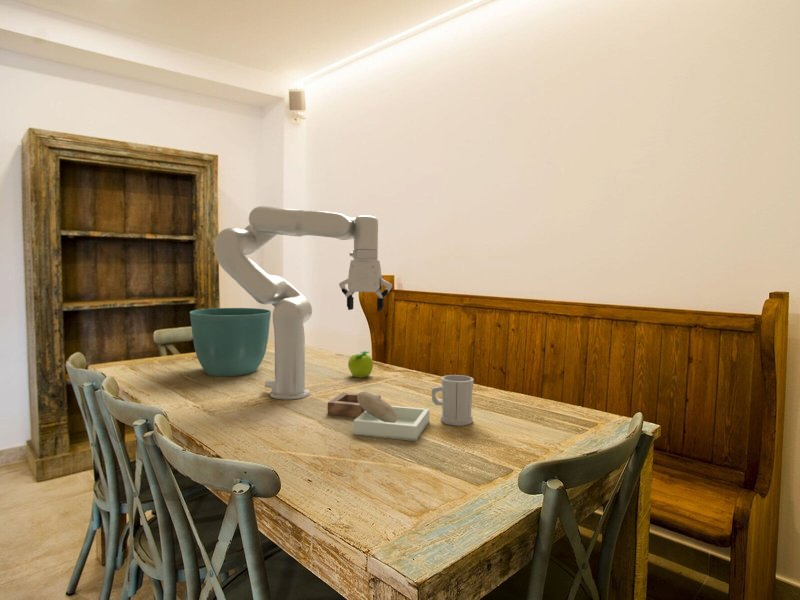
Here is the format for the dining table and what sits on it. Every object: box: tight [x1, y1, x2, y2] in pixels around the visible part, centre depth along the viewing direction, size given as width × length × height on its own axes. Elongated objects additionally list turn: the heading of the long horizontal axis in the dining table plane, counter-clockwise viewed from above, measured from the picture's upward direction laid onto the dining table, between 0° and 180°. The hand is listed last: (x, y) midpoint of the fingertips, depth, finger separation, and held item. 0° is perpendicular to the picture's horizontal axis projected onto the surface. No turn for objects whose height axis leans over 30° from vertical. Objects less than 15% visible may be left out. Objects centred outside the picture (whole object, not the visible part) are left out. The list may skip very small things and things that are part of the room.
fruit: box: [347, 350, 374, 379], centre depth 190 cm, size 9×9×10 cm
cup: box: [431, 374, 475, 427], centre depth 137 cm, size 10×9×12 cm
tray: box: [353, 405, 430, 442], centre depth 131 cm, size 16×16×4 cm
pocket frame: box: [327, 392, 382, 418], centre depth 146 cm, size 12×12×4 cm
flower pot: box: [189, 307, 272, 377], centre depth 196 cm, size 30×30×24 cm
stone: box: [357, 391, 398, 423], centre depth 132 cm, size 6×6×12 cm
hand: (365, 310), depth 159 cm, fingers open, 9 cm apart
